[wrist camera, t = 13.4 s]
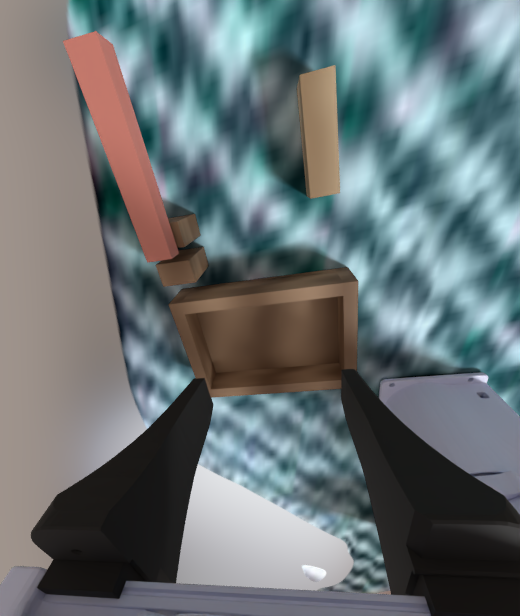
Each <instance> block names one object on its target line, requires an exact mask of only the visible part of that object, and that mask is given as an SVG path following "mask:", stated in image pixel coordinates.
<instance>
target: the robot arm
mask: <svg viewBox="0 0 520 616" xmlns="http://www.w3.org/2000/svg"><path fill="white" fill-rule="evenodd" d="M487 380H488V376H487V375H486V374H485V373H467V374H452V375H438V376H424V377H410V378H396V379H384V380H382V381H381V382H380V391H379V398H378V397H377V396H376V394H375V393H374V392H373V391H372V390H371V389H370V388H369V386H368V385H367V384H366V383H365V381H364V380H363V379H362V378H361V376H360V375H359V374H358V372H357V371H356V370H355V369H343V370H341V399H342V404H343V409H344V413H345V418H346V421H347V424H348V427H349V430H350V433H351V436H352V439H353V442H354V445H355V448H356V451H357V454H358V457H359V460H360V463H361V466H362V469H363V472H364V476H365V480H366V484H367V488H368V492H369V496H370V501H371V505H372V509H373V513H374V518H375V522H376V526H377V531H378V535H379V540H380V544H381V549H382V553H383V558H384V563H385V567H386V572H387V577H388V581H389V586H390V591H391V595H387V594H368V593H349V592H330V591H311V590H292V589H273V588H254V587H235V586H215V585H197V584H178V583H176V578H177V571H178V564H179V557H180V550H181V544H182V538H183V531H184V525H185V520H186V515H187V509H188V504H189V499H190V494H191V489H192V485H193V480H194V475H195V471H196V468H197V464H198V461H199V458H200V455H201V452H202V448H203V445H204V442H205V439H206V435H207V432H208V429H209V425H210V421H211V416H212V410H213V402H212V399H211V396H210V393H209V390H208V387H207V384H206V381H205V378H197V379H193V380H192V381H191V383H190V384H189V385H188V386H187V387H186V388H185V389H184V391H183V392H182V393H181V394H180V395H179V396H178V397H177V399H176V400H175V401H174V402H173V403H172V404H171V405H170V406H169V407H168V409H167V410H166V411H165V412H164V413H163V414H162V415H161V416H160V417H159V418H158V419H157V420H156V421H155V422H154V423H153V424H152V425H151V426H150V427H149V428H148V429H147V430H146V431H145V432H144V433H143V434H141V435H140V436H139V437H138V438H137V439H136V440H135V441H134V442H132V443H131V444H130V445H129V446H127V447H126V448H125V449H124V450H122V451H121V452H120V453H118V454H117V455H116V456H115V457H114V458H112V459H111V460H109V461H108V462H107V463H105V464H104V465H103V466H101V467H100V468H98V469H97V470H96V471H94V472H92V473H91V474H90V475H88V476H87V477H85V478H84V479H82V480H80V481H79V482H77V483H75V484H74V485H73V486H71V487H69V488H68V489H66V490H65V491H63V492H61V493H59V494H58V495H57V496H56V497H55V499H54V500H53V501H52V503H51V505H50V506H49V507H48V509H47V510H46V512H45V513H44V514H43V516H42V517H41V519H40V520H39V522H38V523H37V524H36V526H35V527H34V528H33V530H32V532H31V539H32V541H33V542H34V543H35V544H36V545H37V546H38V547H39V548H40V549H41V550H43V551H44V552H45V553H46V554H48V555H49V556H50V557H51V558H52V559H54V560H53V561H52V563H51V565H50V566H49V568H48V570H47V569H44V568H40V567H26V566H14V567H13V568H12V569H11V570H10V572H9V573H8V574H7V576H6V577H5V579H4V580H3V582H2V583H1V584H0V616H520V416H519V415H518V414H517V413H516V412H515V411H514V410H513V409H512V408H511V407H510V406H509V405H508V404H507V403H506V402H505V401H504V400H503V399H502V398H501V397H500V396H499V395H498V394H497V393H496V392H495V391H494V390H493V389H492V388H491V387H490V386H489V385H488V384H487ZM391 383H392V384H391Z"/></svg>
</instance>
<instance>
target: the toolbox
mask: <svg viewBox="0 0 520 616" xmlns="http://www.w3.org/2000/svg"><path fill="white" fill-rule="evenodd" d="M168 220H169V224H170V227H171V230H172V233H173V236H174V239H175V243H176V246H177V248H181V247H185V246H187V245H188V244H189V243H191V242H192V241H194V240H195V239H196V238H198V237H199V236H200V231H199V227H198V224H197V220H196V216H195V214H191V215H185V216H179V217H173V218H168ZM178 252H179V254H178V255H176V256H175V257H174V258H172V259H167V260H162V261H161V262H159V263H158V264H157V265H156V267H157V270H158V273H159V276H160V278H161V281H162V284H163V286H164V287H165V286H172V285H180V284H187V283H195V282H196V281H197V280H198V279H199V278H200V276H201V275H202V274H203V273H204V271H205V270H206V269H207V267H208V266H209V265H208V261H207V257H206V253H205V250H204V247H198V248H192V249H185V250H179V251H178ZM169 307H170V310H171V313H172V315H173V318H174V321H175V323H176V326H177V329H178V331H179V334H180V337H181V340H182V342H183V345H184V348H185V350H186V353H187V356H188V358H189V361H190V364H191V366H192V369H193V372H194V375H195V377H196V379H197V378H205V381H206V384H207V387H208V390H209V393H210V396H211V397H225V396H240V395H255V394H270V393H285V392H299V391H314V390H329V389H341V370H343V369H355V370H356V371H357V330H358V280H357V279H356V277H355V276H354V275H353V274H352V272H351V271H350V270H349V268H348V267H345V268H338V269H330V270H322V271H315V272H307V273H300V274H292V275H284V276H277V277H269V278H262V279H254V280H246V281H239V282H231V283H224V284H216V285H208V286H201V287H193V288H186V289H182V290H181V291H180V292H179V293H178V294H177V295H176V296H175V298H174V299H173V300H172V301H171V302H170V303H169Z"/></svg>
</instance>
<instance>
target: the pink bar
mask: <svg viewBox="0 0 520 616" xmlns="http://www.w3.org/2000/svg"><path fill="white" fill-rule="evenodd" d="M63 42H64V45H65V48H66V50H67V53H68V55H69V58H70V61H71V63H72V66H73V68H74V71H75V74H76V76H77V79H78V82H79V84H80V87H81V89H82V92H83V95H84V97H85V100H86V103H87V105H88V108H89V110H90V113H91V116H92V118H93V121H94V124H95V126H96V129H97V131H98V134H99V137H100V139H101V142H102V144H103V147H104V150H105V152H106V155H107V158H108V160H109V163H110V165H111V168H112V171H113V173H114V176H115V179H116V181H117V184H118V186H119V189H120V192H121V194H122V197H123V199H124V202H125V205H126V207H127V210H128V213H129V215H130V218H131V220H132V223H133V226H134V228H135V231H136V234H137V236H138V239H139V241H140V244H141V247H142V249H143V252H144V255H145V257H146V260H147V262H154V261H161V260H167V259H172V258H174V257H175V256H176V255H178V254H179V252H178V249H177V246H176V243H175V239H174V236H173V233H172V230H171V227H170V224H169V220H168V217H167V214H166V211H165V208H164V205H163V202H162V198H161V195H160V192H159V189H158V186H157V183H156V179H155V176H154V173H153V170H152V167H151V164H150V161H149V157H148V154H147V151H146V148H145V145H144V142H143V138H142V135H141V132H140V129H139V126H138V123H137V120H136V116H135V113H134V110H133V107H132V104H131V101H130V97H129V94H128V91H127V88H126V85H125V82H124V79H123V75H122V72H121V69H120V66H119V63H118V60H117V56H116V53H115V50H114V47H113V44H111V43H110V42H109V41H108V40H106V39H105V38H104V37H103V36H101V35H100V34H99V33H98V32H96V31H95V32H92V33H88V34H85V35H82V36H78V37H75V38H72V39H68V40H65V41H63Z"/></svg>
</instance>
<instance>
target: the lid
mask: <svg viewBox="0 0 520 616" xmlns="http://www.w3.org/2000/svg"><path fill="white" fill-rule="evenodd" d="M297 97H298V107H299V118H300V129H301V139H302V150H303V161H304V172H305V182H306V193H307V197H309V198H310V199H311V198H316V197H322V196H327V195H332V194H337V193H340V179H339V152H338V125H337V98H336V71H335V66H331V67H327V68H323V69H320V70H316V71H312V72H308V73H305V74H301V75H300V76H299V81H298V85H297Z"/></svg>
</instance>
